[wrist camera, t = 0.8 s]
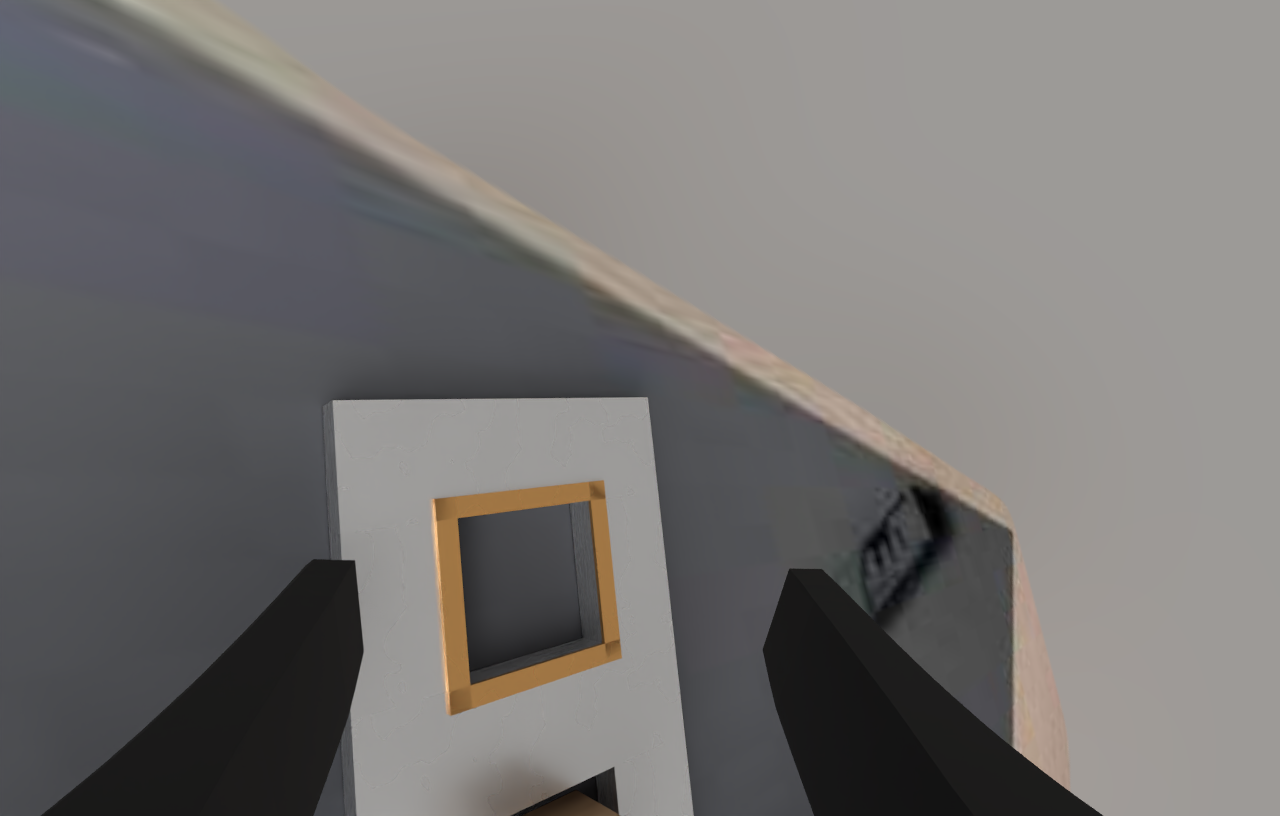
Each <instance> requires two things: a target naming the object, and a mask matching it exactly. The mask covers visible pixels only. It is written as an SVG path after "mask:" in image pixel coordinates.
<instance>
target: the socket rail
mask: <svg viewBox="0 0 1280 816" xmlns="http://www.w3.org/2000/svg"><path fill="white" fill-rule="evenodd" d="M322 415H323V433H324V451H325V469H326V487H327V505H328V523H329V540H330V558H331V560H355V565H356V575H357V585H358V595H359V605H360V615H361V626H362V636H363V646H364V654H363V658H362V662H361V667H360V671H359V675H358V680H357V684H356V688H355V692H354V696H353V701H352V705H351V709H350V713H349V717H348V719H347V722H346V725H345V728H344V731H343V734H342V737H341V755H342V772H343V790H344V808H345V816H511V815H513V814H515V813H517V812H519V811H521V810H523V809H525V808H528V807H530V806H532V805H534V804H536V803H538V802H540V801H542V800H545V799H547V798H549V797H551V796H553V795H555V794H557V793H559V792H562V791H564V790H566V789H568V788H570V787H572V786H574V785H576V784H579V783H581V782H583V781H585V780H587V779H589V778H591V777H593V776H595V775H596V785H597V796H598V803H600V804H602V805H603V806H605V807H607V808H608V809H610V810H612V811H614V812H615V813H617V814H619V815H621V816H694V815H693V806H692V797H691V787H690V778H689V769H688V760H687V751H686V742H685V733H684V724H683V715H682V706H681V696H680V687H679V678H678V669H677V660H676V651H675V642H674V633H673V624H672V614H671V605H670V596H669V587H668V578H667V569H666V560H665V551H664V542H663V533H662V523H661V514H660V505H659V496H658V487H657V478H656V469H655V460H654V451H653V441H652V432H651V423H650V414H649V405H648V397H629V398H521V399H413V400H332V401H331V402H329V403H327V404H326V405H324V406H323V407H322ZM568 503H570V512H571V523H572V533H573V544H574V554H575V565H576V575H577V586H578V596H579V607H580V617H581V628H582V639H578V640H575V641H572V642H568V643H565V644H562V645H558V646H555V647H552V648H548V649H545V650H541V651H538V652H535V653H531V654H528V655H525V656H521V657H518V658H515V659H511V660H508V661H505V662H501V663H498V664H495V665H491V666H488V667H485V668H481V669H478V670H474V671H471V672H469V660H468V647H467V634H466V621H465V608H464V595H463V582H462V569H461V556H460V543H459V530H458V518H463V517H471V516H478V515H486V514H493V513H501V512H508V511H515V510H523V509H530V508H538V507H545V506H553V505H560V504H568Z"/></svg>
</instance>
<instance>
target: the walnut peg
mask: <svg viewBox="0 0 1280 816" xmlns="http://www.w3.org/2000/svg"><path fill="white" fill-rule="evenodd" d="M522 816H621V815H619V814H617V813H615V812H614V811H612V810H610V809H608V808H607V807H605V806H603V805H602V804H600V803H598V802H596V801H595V800H593V799H591V798H589V797H588V796H586V795H584V794H582V793H581V792H579V791H577V790H575V791H573V792H571V793H569V794H566V795H564V796H562V797H560V798H558V799H556V800H554V801H552V802H550V803H548V804H545V805H543V806H541V807H539V808H537V809H535V810H533V811H531V812H529V813H527V814H524V815H522Z"/></svg>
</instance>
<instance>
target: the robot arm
mask: <svg viewBox="0 0 1280 816" xmlns="http://www.w3.org/2000/svg"><path fill="white" fill-rule="evenodd" d="M763 653H764V658H765V663H766V667H767V672H768V677H769V681H770V686H771V690H772V694H773V698H774V702H775V706H776V710H777V713H778V715H779V718H780V721H781V724H782V727H783V730H784V733H785V736H786V738H787V741H788V744H789V747H790V750H791V753H792V755H793V758H794V761H795V764H796V767H797V769H798V772H799V775H800V778H801V780H802V783H803V786H804V789H805V791H806V794H807V797H808V800H809V803H810V805H811V808H812V811H813V814H814V816H1103V815H1102V814H1100V813H1099V812H1097V811H1096V810H1095V809H1093V808H1092V807H1090V806H1089V805H1087V804H1086V803H1085V802H1083V801H1082V800H1080V799H1079V798H1078V797H1076V796H1075V795H1074V794H1072V793H1071V792H1070V791H1068V790H1067V789H1065V788H1064V787H1063V786H1061V785H1060V784H1059V783H1057V782H1056V781H1055V780H1053V779H1052V778H1051V777H1049V776H1048V775H1047V774H1046V773H1044V772H1043V771H1042V770H1040V769H1039V768H1038V767H1037V766H1035V765H1034V764H1033V763H1032V762H1030V761H1029V760H1028V759H1027V758H1025V757H1024V756H1023V755H1022V754H1020V753H1019V752H1018V751H1016V750H1015V749H1014V748H1013V747H1011V746H1010V745H1009V744H1008V743H1006V742H1005V741H1004V740H1003V739H1001V738H1000V737H999V736H998V735H997V734H995V733H994V732H993V731H992V730H991V729H989V728H988V727H987V726H986V725H985V724H984V723H982V722H981V721H980V720H979V719H978V718H977V717H976V716H974V715H973V714H972V713H971V712H970V711H969V710H968V709H966V708H965V707H964V706H963V705H962V704H961V703H960V702H959V701H957V700H956V699H955V698H954V697H953V696H952V695H951V694H950V693H948V692H947V691H946V690H945V689H944V688H943V687H942V686H941V685H940V684H939V683H938V682H936V681H935V680H934V679H933V678H932V677H931V676H930V675H929V674H928V673H927V672H926V671H925V670H924V669H923V668H921V667H920V666H919V665H918V664H917V663H916V662H915V661H914V660H913V659H912V658H911V657H910V656H909V655H908V654H907V653H906V652H905V651H904V650H903V649H902V648H901V647H900V646H899V645H898V644H897V643H896V642H895V641H894V640H893V639H892V638H891V637H890V636H889V635H888V634H887V633H886V632H885V631H884V630H883V629H882V628H881V627H880V626H879V625H878V624H877V623H876V622H875V621H874V620H873V619H872V618H871V617H870V616H869V615H868V614H867V613H866V612H865V611H864V610H863V609H862V608H861V607H860V606H859V605H858V604H857V603H856V602H855V601H854V600H853V599H852V598H851V597H850V596H849V595H848V594H847V593H846V592H845V591H844V590H843V589H842V588H841V587H840V586H839V585H838V584H837V583H836V582H835V581H834V580H833V579H832V578H831V577H830V576H829V575H827V574H826V573H825V572H824V571H823V570H822V569H789V571H788V574H787V577H786V580H785V583H784V587H783V590H782V593H781V596H780V599H779V602H778V605H777V608H776V611H775V614H774V617H773V620H772V623H771V626H770V629H769V632H768V635H767V638H766V641H765V644H764V647H763ZM363 654H364V646H363V636H362V626H361V615H360V605H359V595H358V585H357V575H356V565H355V560H317V559H313V560H312V561H311V562H310V563H308V564H307V565H306V566H305V567H304V568H303V569H302V570H301V571H300V573H299V574H298V575H297V576H296V577H295V578H294V579H293V580H292V581H291V582H290V584H289V585H288V586H287V587H286V588H285V589H284V590H283V591H282V592H281V593H280V594H279V596H278V597H277V598H276V599H275V600H274V601H273V602H272V603H271V604H270V605H269V606H268V607H267V609H266V610H265V611H264V612H263V613H262V614H261V615H260V616H259V617H258V618H257V619H256V620H255V621H254V622H253V623H252V624H251V625H250V626H249V627H248V629H247V630H246V631H245V632H244V633H243V634H242V635H241V636H240V637H239V638H238V639H237V640H236V641H235V642H234V643H233V644H232V645H231V646H230V647H229V648H228V649H227V650H226V651H225V652H224V653H223V654H222V655H221V656H220V657H219V658H218V659H217V660H216V661H215V662H214V663H213V664H212V665H211V666H210V667H209V668H208V669H207V670H206V671H205V672H204V673H203V674H202V675H201V676H200V677H199V678H198V679H197V680H196V681H195V682H194V683H193V684H192V685H190V686H189V687H188V688H187V689H186V690H185V691H184V692H183V693H182V694H181V695H180V696H179V697H177V698H176V699H175V700H174V701H173V702H172V703H171V704H170V705H169V706H168V707H167V708H166V709H165V710H163V711H162V712H161V713H160V714H159V715H158V716H157V717H156V718H155V719H154V720H153V721H152V722H150V723H149V724H148V725H147V726H146V727H145V728H144V729H143V730H142V731H141V732H140V733H139V734H137V735H136V736H135V737H134V738H133V739H132V740H131V741H130V742H128V743H127V744H126V745H125V746H124V747H123V748H122V749H120V750H119V751H118V752H117V753H116V754H115V755H113V756H112V757H111V758H110V759H109V760H108V761H107V762H105V763H104V764H103V765H102V766H101V767H99V768H98V769H97V770H96V771H95V772H94V773H92V774H91V775H90V776H89V777H88V778H86V779H85V780H84V781H83V782H82V783H80V784H79V785H78V786H77V787H75V788H74V789H73V790H72V791H71V792H69V793H68V794H67V795H66V796H65V797H63V798H62V799H61V800H60V801H58V802H57V803H56V804H55V805H54V806H52V807H51V808H50V809H49V810H47V811H46V812H45V813H44V814H42V815H41V816H313V815H314V812H315V809H316V807H317V804H318V801H319V798H320V795H321V793H322V790H323V787H324V784H325V782H326V779H327V776H328V773H329V770H330V768H331V765H332V762H333V759H334V756H335V754H336V751H337V748H338V745H339V742H340V739H341V737H342V734H343V731H344V728H345V725H346V722H347V719H348V717H349V713H350V709H351V705H352V701H353V696H354V692H355V688H356V684H357V680H358V675H359V671H360V667H361V662H362V658H363Z"/></svg>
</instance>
